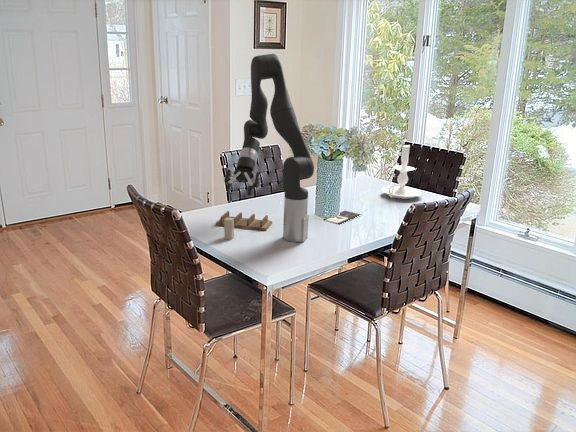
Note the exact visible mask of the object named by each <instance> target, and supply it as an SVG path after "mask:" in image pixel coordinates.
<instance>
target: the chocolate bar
mask: <svg viewBox="0 0 576 432" xmlns="http://www.w3.org/2000/svg"><path fill="white" fill-rule="evenodd" d="M339 213H340V215H339V216H338V217H335V218H327V217H325V218H323V219H322V220H323V221H325V220H326V221H325V222H328V221H329V223H332V222H333V224H336V223H337V224H336V225H340V224H341V225H342V223H343V224H345V223H347V222H346V221H348V220H350V219H352V220H354V219H353V218H355V217H357V216H359V215H361V216H362V214H361V213H357V212H352V211H349V210H343V211H340V212H339ZM359 217H360V216H359ZM357 218H358V217H357ZM355 219H356V218H355ZM350 221H351V220H350ZM344 222H345V223H344ZM348 222H349V221H348Z"/></svg>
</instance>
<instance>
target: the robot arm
mask: <svg viewBox="0 0 576 432" xmlns="http://www.w3.org/2000/svg"><path fill="white" fill-rule="evenodd" d="M270 79H272V80H273V87H274V92H273V93H274V94H273V97H272V101H271V105H270V109H269V114H270V117H271V121H272V125H273V127H274V129H275V130H276V132H277V133H278V135H280V137H281V138H282V139H283V140H284V141H285V142H286V143H287V145H289V147H290V149H291V152H292V155H293V156H290V157H287V158H286V159H284V161H283V164H282V165H283V166H282V188H283V189H282V190H283V193H284V199H283V226H282V227H283V229H282V230H283V231H282V232H283V233H282V238H283V240H284V241H286V242H291V243H304V242H305V241H306V240H307V239H308V236H309V235H308V233H309V214H308V206H309V205H308V203H309V191H308V189H306V188H304V187H301V180H302V181H303V180H308V179H310V178H312V176H313V175H314V171H315V168H314V162H313V159H312V156H311V154H310V152H309V149H308V147H307V145H306V143H305V140H304V138H303V135H302V132H301V129H300V125H299V123H298V120H297V116H296V112H295V109H294V107H293V104H292V101H291V99H290V94H289V91H288V87H287V84H286V80H285V75H284V71H283V66H282V62H281V60H280V58H279V56H278V55H277V54H275V53H269V54H261V55H256V56H253V58H252V59H251V63H250V87H251V88H250V89H251V99H250V100H251V103H250V110H249V119H248V120H247V121H245V122H244V125H243V143H242V148H241V151H240V153H239V156H238V159H237V164H236V166H235V167H236V168H235V170H234V171H233V170H231V169H227V171H226V174H225V177H224V181H223V182H224V183H225V185H226V193H227V194H228V195H230V194H231V191H232V190H233V189H232V187H233V186H234V185H236V184H237V183H245V184H246V183H248V185H249V186H248V190H247V193H246V195H247V196H248V197H250V196H251V195H252V194H253V190H254V188H256V189H257V188H259V186H260V185H259V184H260V180H261V174H260V172H254V171H255V168H256V166H257V165H256V164H257V163H258V162H257V160H258V154H259V150H260V147H261V142H260V141H259V140H262V139H263V140H264V139H265V138H266V137H267V136H268V133H269V129H268V122H267V115H268V114H267V112H268V105H269V104H268V98H267V96H266V94H265V92H264V91H263V90H262V87H261V82H262V81H263V80H264V81H265V80H270ZM253 178H254V179H255V181H254V182H252V179H253Z"/></svg>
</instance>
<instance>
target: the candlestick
mask: <svg viewBox="0 0 576 432" xmlns="http://www.w3.org/2000/svg"><path fill="white" fill-rule="evenodd" d="M401 147H402V148H401V158H400V161H401V164H400V165H394V166H392V168H393V169H395V170H397V171H399V174H398V175H397V183H398V184H399V186H398V185H396V186H394V185H393V184H392V185H391V184H390V185H388V186H385V187H383V188H382V187H381V191H382V192H383V193H385V194H386V195H387V196H389V197H390V198H394V199H400V198H401V199H402V200H403V199H404V200H406V199H407V200H408V199H414V198H416V197H418V196H421V195H422V192H421V190H419V189H416V188H412V187H408V186H405V185H407V183H408V182H409V176H408V172H411V171H414V170H416V168H415V167H413V166H408V164H409V158H410V157H409V155H410V148H411V145H410V144H408V145H407V144H404V145H401ZM401 199H400V200H401Z"/></svg>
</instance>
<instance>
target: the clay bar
mask: <svg viewBox="0 0 576 432" xmlns="http://www.w3.org/2000/svg"><path fill="white" fill-rule="evenodd" d="M223 228H224V230H223V231H224V232H223V234H224V235H223V236H224V237H223V238H224V240H228V241H229V240H230V241H232V240H233V239H234V238H235V227H234V218H226V219H225V220H224V226H223Z"/></svg>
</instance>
